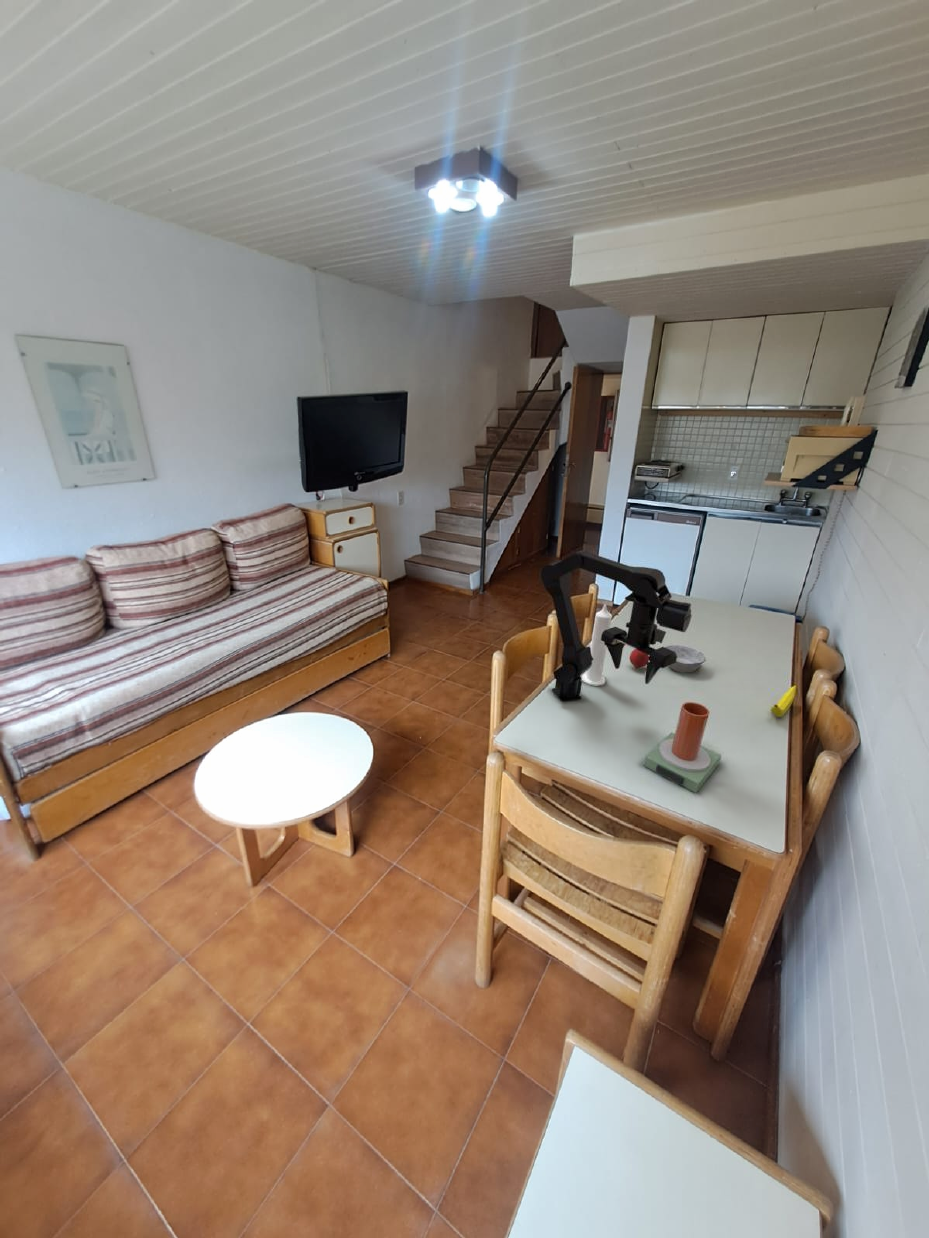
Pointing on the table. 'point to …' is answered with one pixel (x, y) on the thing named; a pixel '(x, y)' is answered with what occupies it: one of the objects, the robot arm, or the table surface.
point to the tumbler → (690, 731)
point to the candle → (598, 649)
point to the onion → (639, 658)
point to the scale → (682, 764)
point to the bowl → (686, 659)
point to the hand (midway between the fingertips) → (631, 675)
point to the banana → (784, 703)
